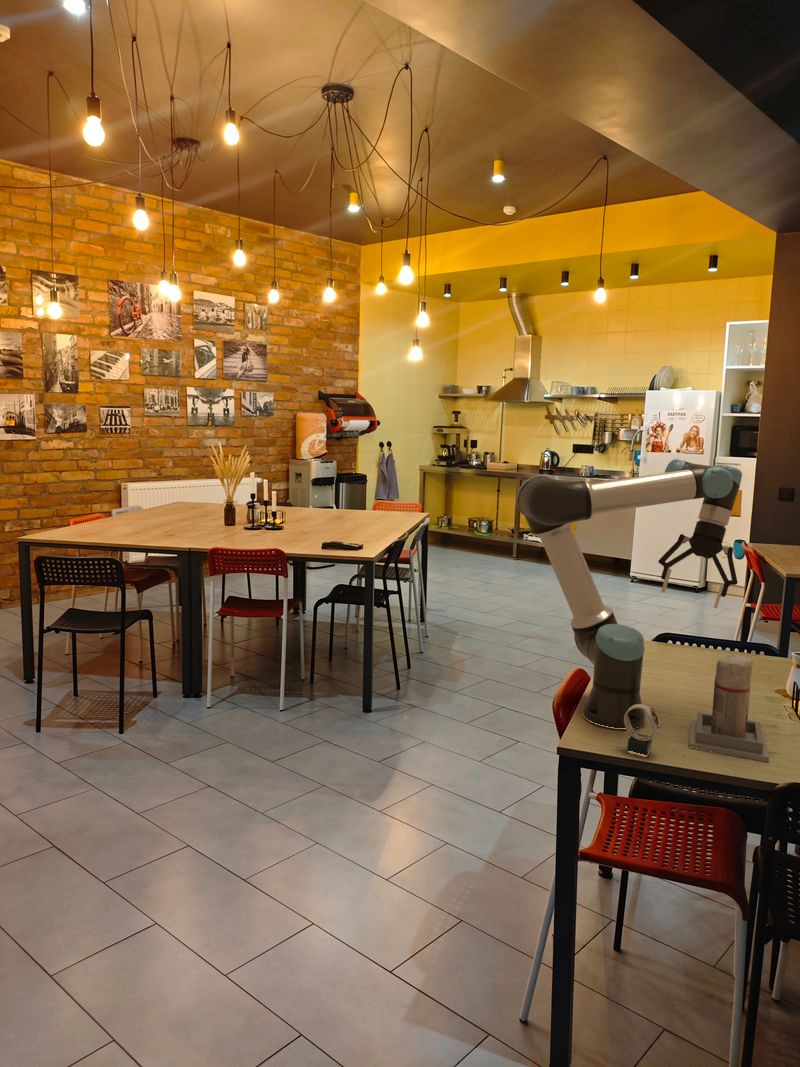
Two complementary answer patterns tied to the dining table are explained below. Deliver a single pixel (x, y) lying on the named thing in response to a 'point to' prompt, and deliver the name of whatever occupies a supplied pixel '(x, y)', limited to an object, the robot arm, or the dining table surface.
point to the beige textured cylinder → (731, 696)
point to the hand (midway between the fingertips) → (688, 600)
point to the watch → (640, 741)
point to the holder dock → (729, 739)
